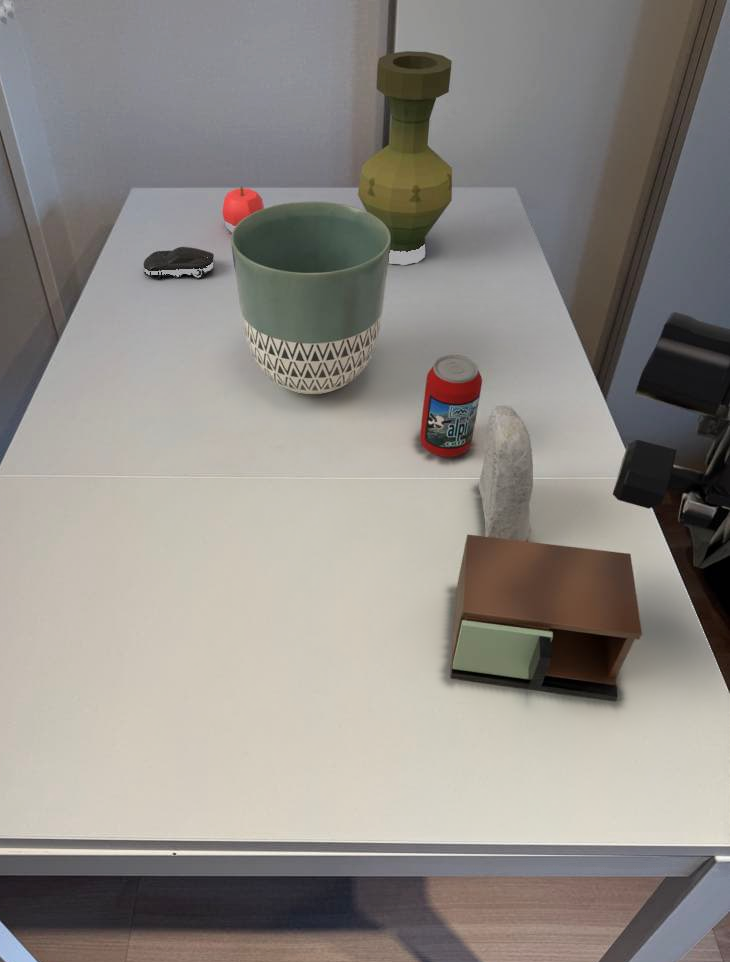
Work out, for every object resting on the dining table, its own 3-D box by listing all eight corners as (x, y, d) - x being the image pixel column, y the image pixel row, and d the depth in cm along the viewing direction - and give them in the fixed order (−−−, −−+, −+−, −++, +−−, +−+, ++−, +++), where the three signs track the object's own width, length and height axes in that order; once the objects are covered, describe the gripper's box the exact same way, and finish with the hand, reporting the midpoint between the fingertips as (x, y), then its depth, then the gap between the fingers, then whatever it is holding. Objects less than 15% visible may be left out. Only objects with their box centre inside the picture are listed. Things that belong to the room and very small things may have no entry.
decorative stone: (467, 484, 96) (486, 384, 85) (515, 485, 96) (540, 384, 85) (479, 549, 88) (501, 448, 77) (531, 549, 88) (560, 448, 77)
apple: (235, 218, 147) (231, 175, 141) (273, 225, 145) (271, 182, 139) (215, 235, 142) (211, 192, 136) (254, 243, 140) (251, 199, 134)
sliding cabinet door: (536, 675, 75) (552, 631, 70) (537, 701, 73) (554, 658, 68) (452, 664, 76) (462, 619, 71) (451, 689, 74) (460, 646, 69)
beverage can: (429, 465, 98) (440, 387, 89) (411, 433, 103) (419, 355, 94) (478, 456, 99) (493, 378, 91) (458, 424, 104) (471, 347, 95)
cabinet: (606, 609, 82) (630, 553, 76) (616, 701, 74) (644, 647, 68) (455, 590, 84) (467, 534, 77) (450, 678, 76) (462, 623, 70)
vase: (336, 248, 139) (339, 58, 117) (403, 224, 145) (417, 40, 123) (396, 284, 130) (411, 86, 108) (465, 257, 136) (491, 65, 114)
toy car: (147, 264, 134) (143, 243, 132) (216, 263, 135) (213, 242, 132) (143, 280, 130) (139, 259, 128) (214, 279, 131) (211, 258, 128)
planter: (225, 410, 106) (208, 262, 90) (266, 334, 119) (258, 194, 104) (366, 431, 103) (373, 282, 87) (392, 351, 116) (403, 209, 100)
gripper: (900, 403, 62) (810, 536, 73) (660, 349, 67) (611, 481, 78) (908, 489, 55) (808, 622, 66) (640, 421, 60) (589, 555, 71)
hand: (698, 563), depth 71 cm, fingers closed
